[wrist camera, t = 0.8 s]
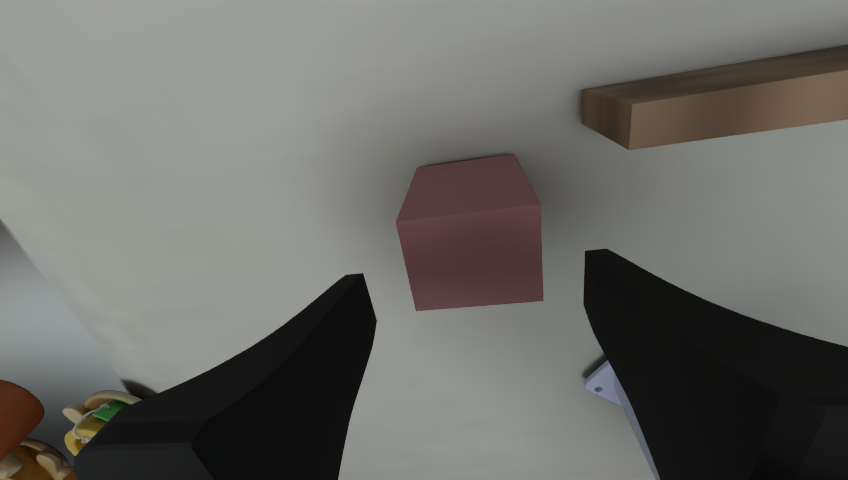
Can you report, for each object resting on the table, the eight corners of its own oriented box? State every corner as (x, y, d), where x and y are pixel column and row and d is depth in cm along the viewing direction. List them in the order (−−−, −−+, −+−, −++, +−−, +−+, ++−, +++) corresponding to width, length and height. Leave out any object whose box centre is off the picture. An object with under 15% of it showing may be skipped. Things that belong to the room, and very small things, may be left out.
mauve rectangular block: (513, 153, 18) (540, 204, 12) (517, 224, 20) (543, 300, 14) (417, 167, 19) (395, 221, 13) (429, 234, 21) (415, 311, 15)
